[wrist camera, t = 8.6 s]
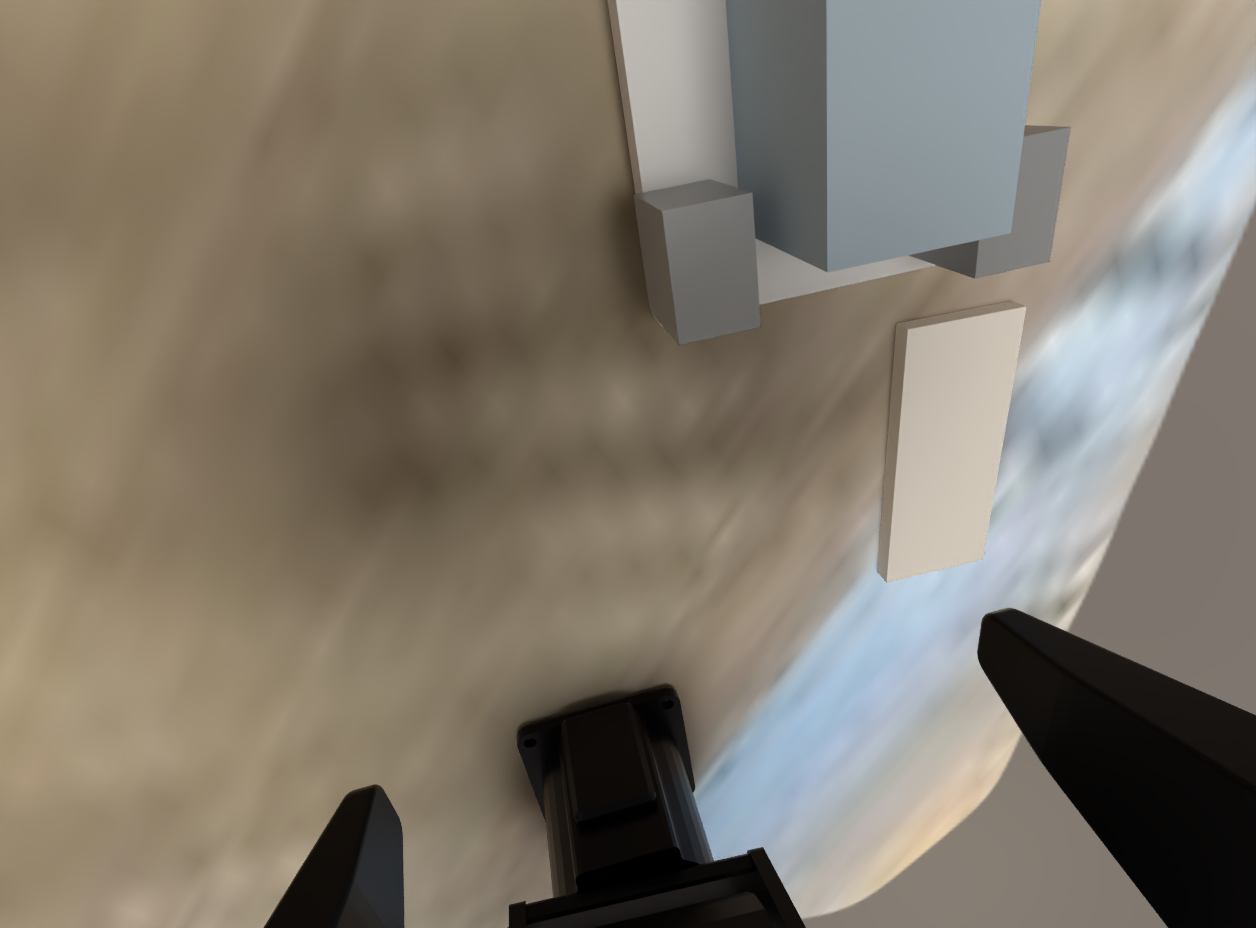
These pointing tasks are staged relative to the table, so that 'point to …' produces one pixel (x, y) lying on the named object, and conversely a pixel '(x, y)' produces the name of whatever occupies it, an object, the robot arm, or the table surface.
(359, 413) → the table surface
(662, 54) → the jig
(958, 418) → the plank
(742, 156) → the grey rectangular block
